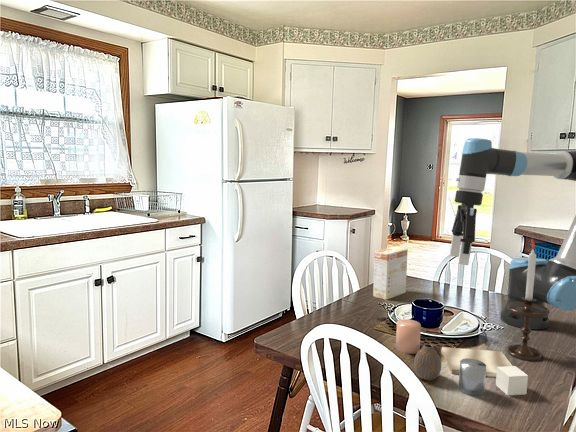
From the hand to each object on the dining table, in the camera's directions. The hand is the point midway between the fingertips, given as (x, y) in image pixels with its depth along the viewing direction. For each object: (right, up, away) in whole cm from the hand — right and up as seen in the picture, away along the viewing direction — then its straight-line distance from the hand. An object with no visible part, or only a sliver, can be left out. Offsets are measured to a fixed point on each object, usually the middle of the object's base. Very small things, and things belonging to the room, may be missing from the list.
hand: (458, 260), depth 132 cm
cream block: (+4, -30, -23) cm, 38 cm away
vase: (-15, -30, -17) cm, 37 cm away
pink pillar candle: (-15, -27, 0) cm, 31 cm away
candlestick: (+18, -28, -3) cm, 34 cm away
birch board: (+2, -28, -9) cm, 30 cm away
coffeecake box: (-9, -20, +53) cm, 57 cm away
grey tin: (-6, -30, -23) cm, 39 cm away
